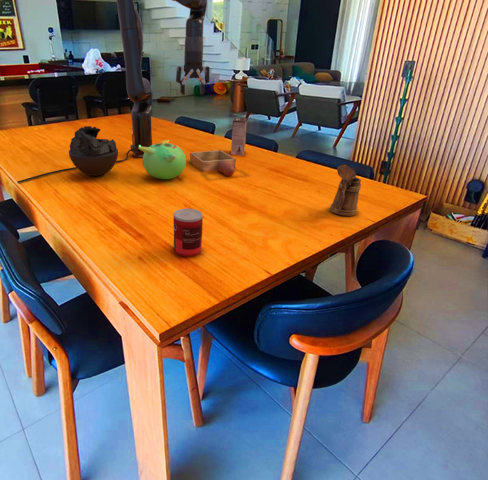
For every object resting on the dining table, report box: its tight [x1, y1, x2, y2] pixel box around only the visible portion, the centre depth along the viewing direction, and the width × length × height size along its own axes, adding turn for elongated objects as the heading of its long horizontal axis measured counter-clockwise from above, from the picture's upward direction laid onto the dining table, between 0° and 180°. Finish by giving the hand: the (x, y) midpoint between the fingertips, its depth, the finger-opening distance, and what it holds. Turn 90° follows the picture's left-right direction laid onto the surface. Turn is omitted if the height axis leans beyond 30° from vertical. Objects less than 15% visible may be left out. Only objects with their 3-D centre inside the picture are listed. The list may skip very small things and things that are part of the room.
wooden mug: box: [329, 163, 362, 217], centre depth 126 cm, size 9×14×18 cm, turn 139°
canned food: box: [173, 208, 204, 258], centre depth 105 cm, size 8×8×11 cm
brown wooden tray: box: [189, 149, 237, 173], centre depth 174 cm, size 16×17×5 cm
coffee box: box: [230, 117, 248, 157], centre depth 189 cm, size 9×6×16 cm
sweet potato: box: [217, 161, 235, 177], centre depth 163 cm, size 11×5×5 cm, turn 20°
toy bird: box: [138, 139, 187, 180], centre depth 156 cm, size 18×17×15 cm
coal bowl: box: [68, 125, 119, 177], centre depth 158 cm, size 20×20×19 cm
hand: (192, 94), depth 165 cm, fingers open, 8 cm apart
